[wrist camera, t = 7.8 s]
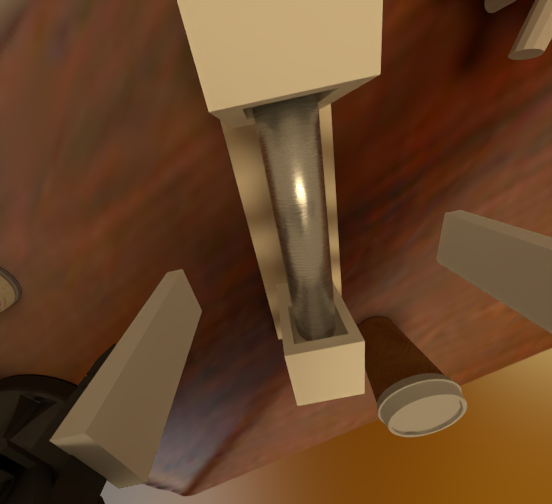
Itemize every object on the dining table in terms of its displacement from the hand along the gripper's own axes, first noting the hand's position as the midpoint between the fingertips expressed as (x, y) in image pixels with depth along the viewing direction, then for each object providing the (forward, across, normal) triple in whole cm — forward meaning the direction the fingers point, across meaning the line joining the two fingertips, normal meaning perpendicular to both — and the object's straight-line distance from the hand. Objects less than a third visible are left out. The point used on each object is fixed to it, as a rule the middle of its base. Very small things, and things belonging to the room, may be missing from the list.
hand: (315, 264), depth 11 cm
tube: (+8, +1, +1) cm, 8 cm away
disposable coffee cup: (+14, +11, -23) cm, 29 cm away
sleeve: (+14, +1, -14) cm, 20 cm away
